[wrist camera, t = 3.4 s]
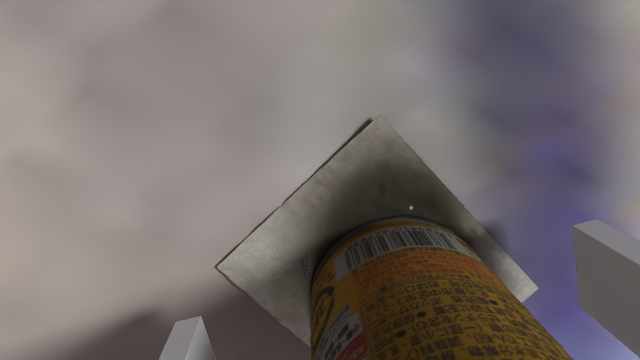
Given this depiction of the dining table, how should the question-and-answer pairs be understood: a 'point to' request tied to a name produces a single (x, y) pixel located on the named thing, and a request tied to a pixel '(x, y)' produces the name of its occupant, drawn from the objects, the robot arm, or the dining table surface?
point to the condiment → (388, 265)
